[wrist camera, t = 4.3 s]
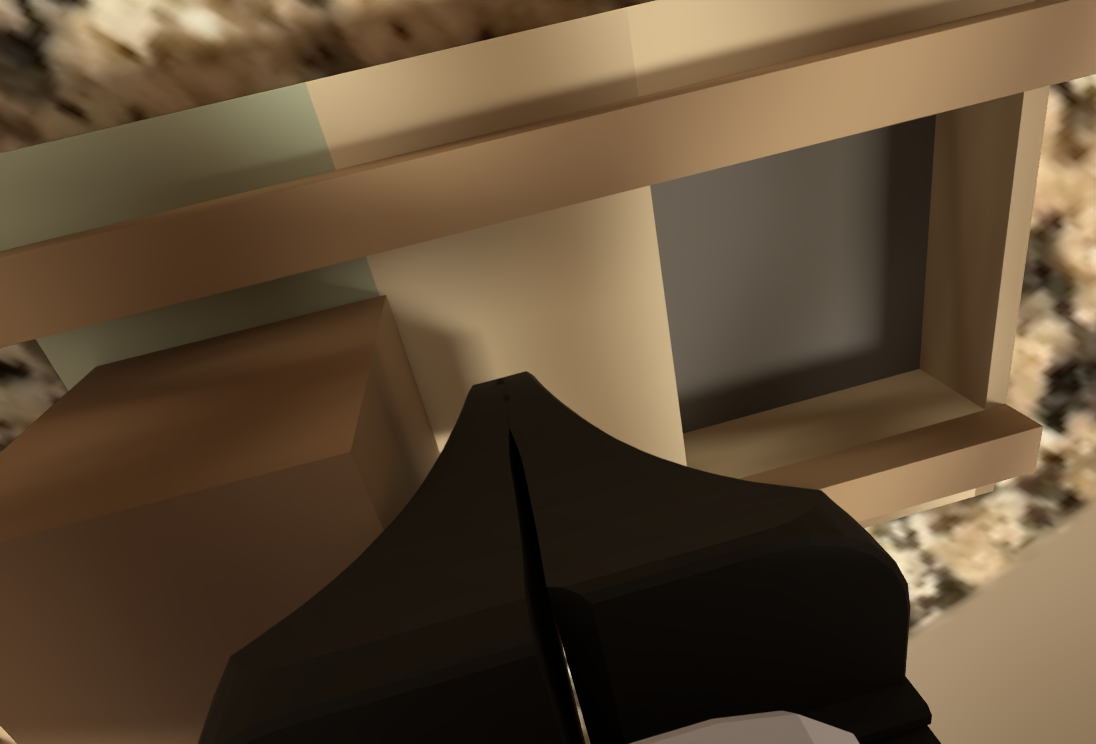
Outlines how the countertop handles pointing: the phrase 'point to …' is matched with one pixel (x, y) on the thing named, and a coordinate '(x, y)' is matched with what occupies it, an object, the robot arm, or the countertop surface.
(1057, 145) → the countertop surface
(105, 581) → the walnut block
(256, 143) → the wooden tray
